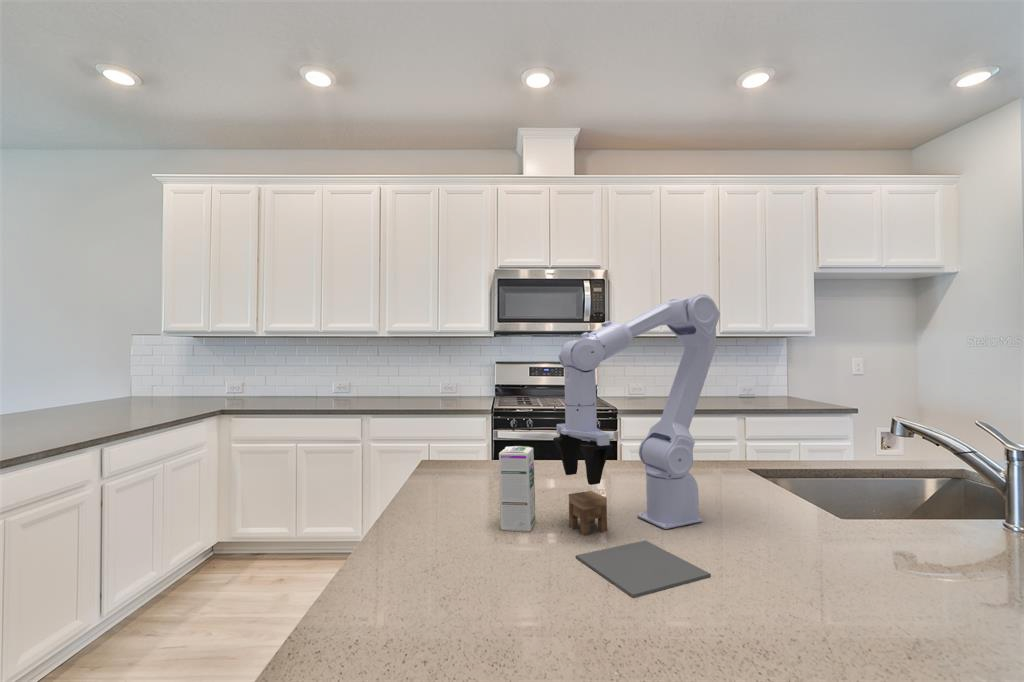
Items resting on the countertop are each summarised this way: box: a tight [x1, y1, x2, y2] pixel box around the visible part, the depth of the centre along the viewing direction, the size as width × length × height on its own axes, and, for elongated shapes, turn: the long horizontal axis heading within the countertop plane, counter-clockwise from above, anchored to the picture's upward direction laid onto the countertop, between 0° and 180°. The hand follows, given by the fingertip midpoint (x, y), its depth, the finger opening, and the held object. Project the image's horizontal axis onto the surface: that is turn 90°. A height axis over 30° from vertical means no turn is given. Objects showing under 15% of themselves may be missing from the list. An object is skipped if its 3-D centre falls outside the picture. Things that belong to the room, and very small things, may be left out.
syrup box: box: [498, 445, 536, 533], centre depth 91 cm, size 6×6×14 cm
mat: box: [575, 540, 712, 599], centre depth 73 cm, size 14×14×1 cm
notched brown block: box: [568, 490, 608, 536], centre depth 89 cm, size 5×5×6 cm
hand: (582, 478), depth 88 cm, fingers open, 7 cm apart
